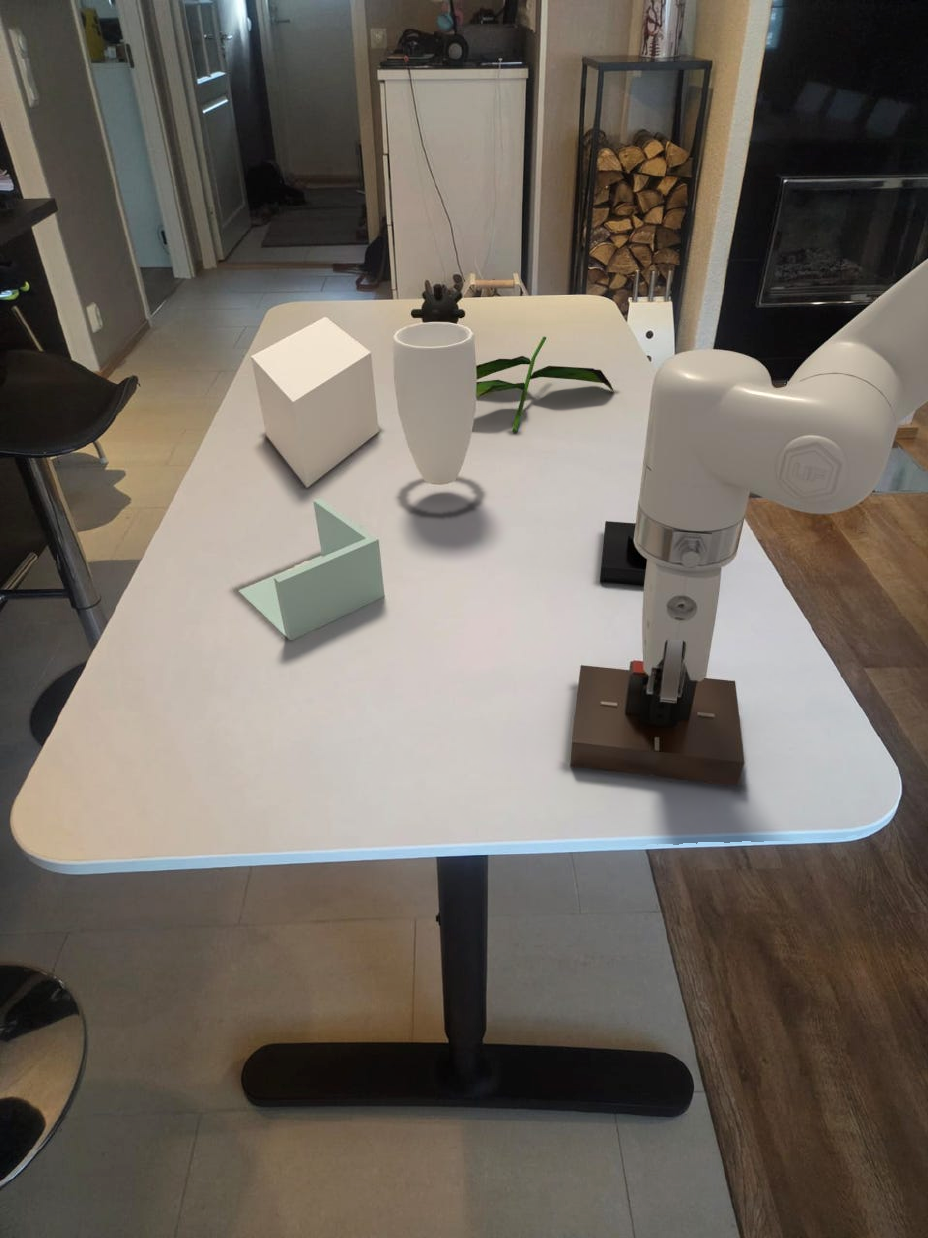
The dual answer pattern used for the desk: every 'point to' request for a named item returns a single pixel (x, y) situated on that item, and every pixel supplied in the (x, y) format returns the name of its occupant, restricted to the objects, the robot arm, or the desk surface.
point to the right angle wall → (323, 578)
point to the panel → (657, 732)
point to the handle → (640, 678)
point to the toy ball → (439, 307)
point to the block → (316, 397)
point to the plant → (531, 376)
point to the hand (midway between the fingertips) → (657, 706)
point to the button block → (621, 556)
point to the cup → (436, 395)
